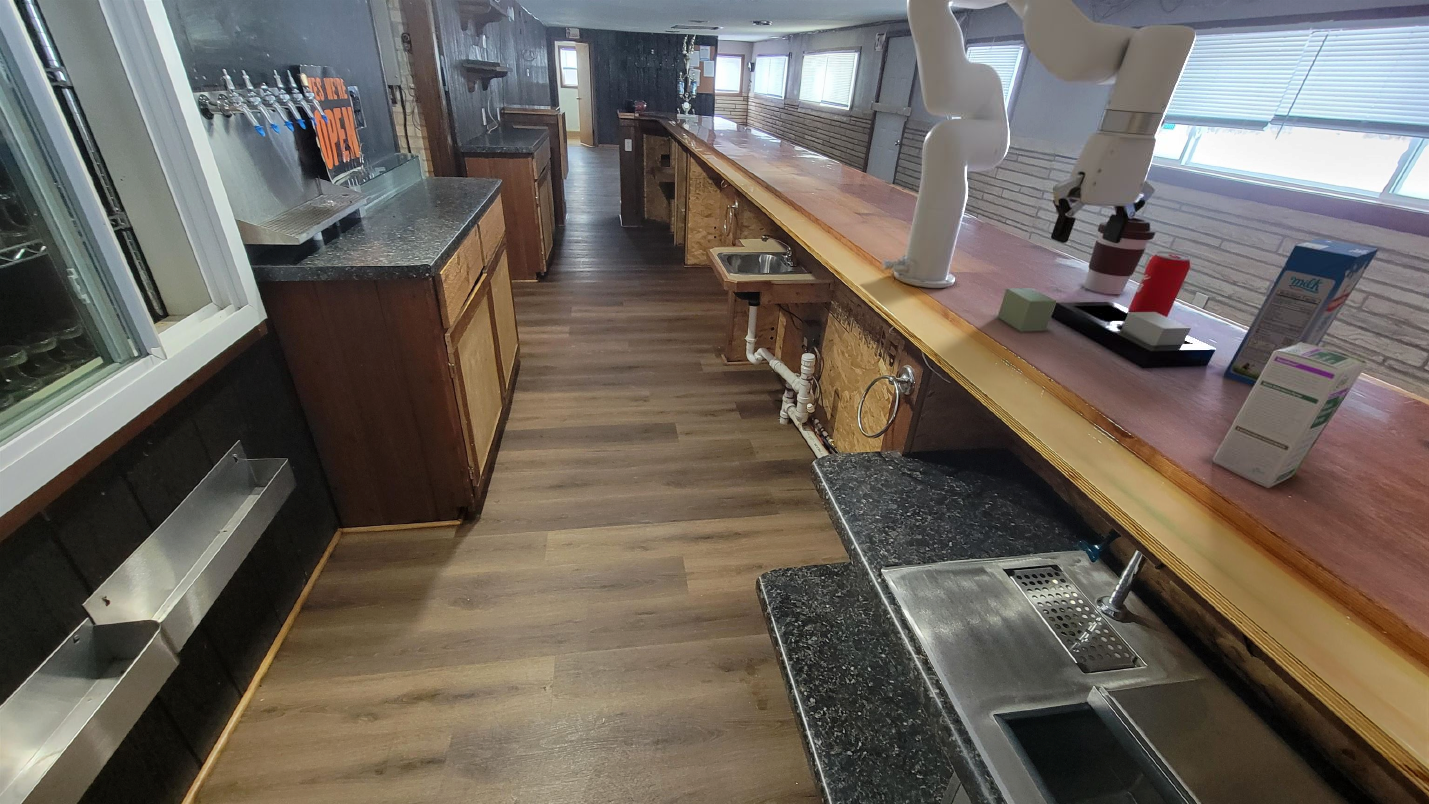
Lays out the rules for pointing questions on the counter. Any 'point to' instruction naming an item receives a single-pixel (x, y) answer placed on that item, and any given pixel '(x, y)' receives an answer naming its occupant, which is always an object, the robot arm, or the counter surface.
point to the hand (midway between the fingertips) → (1084, 241)
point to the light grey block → (1155, 328)
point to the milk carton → (1300, 303)
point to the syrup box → (1287, 412)
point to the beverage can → (1161, 283)
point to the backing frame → (1127, 336)
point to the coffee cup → (1117, 257)
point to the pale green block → (1026, 309)
